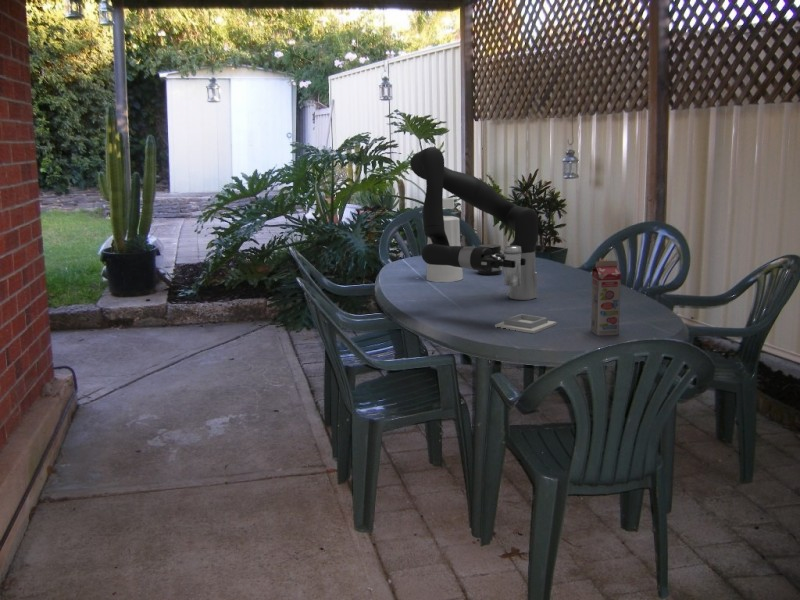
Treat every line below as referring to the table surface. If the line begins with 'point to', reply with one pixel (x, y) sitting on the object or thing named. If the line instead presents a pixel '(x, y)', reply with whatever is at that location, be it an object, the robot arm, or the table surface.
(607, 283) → the juice carton
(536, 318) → the duct flange
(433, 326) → the table surface
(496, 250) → the supplement container
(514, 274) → the grey canister
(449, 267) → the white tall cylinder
